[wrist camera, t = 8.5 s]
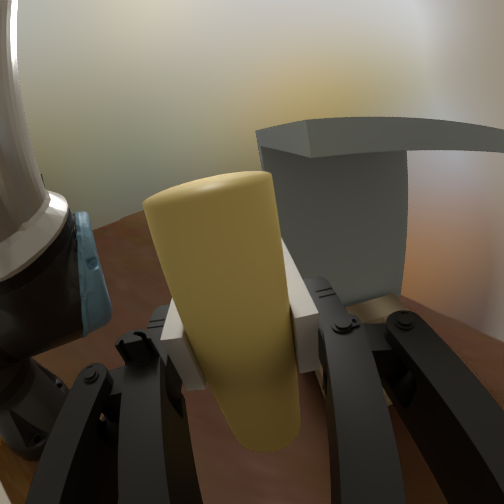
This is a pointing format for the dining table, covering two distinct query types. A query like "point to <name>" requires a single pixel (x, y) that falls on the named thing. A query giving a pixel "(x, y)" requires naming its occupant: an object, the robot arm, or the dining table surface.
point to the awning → (354, 193)
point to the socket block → (371, 320)
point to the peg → (233, 298)
